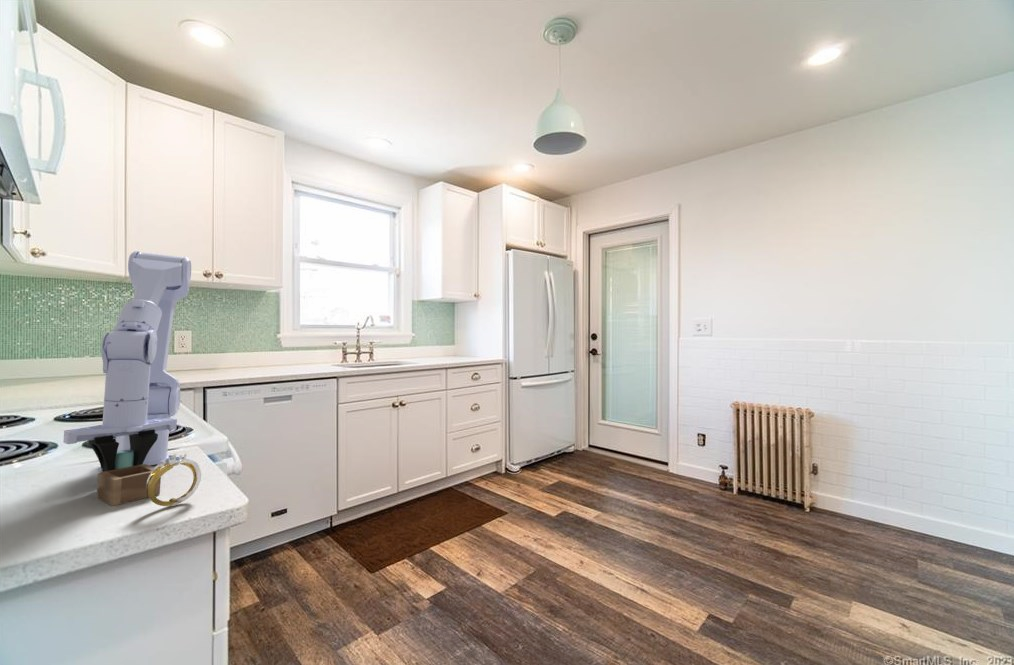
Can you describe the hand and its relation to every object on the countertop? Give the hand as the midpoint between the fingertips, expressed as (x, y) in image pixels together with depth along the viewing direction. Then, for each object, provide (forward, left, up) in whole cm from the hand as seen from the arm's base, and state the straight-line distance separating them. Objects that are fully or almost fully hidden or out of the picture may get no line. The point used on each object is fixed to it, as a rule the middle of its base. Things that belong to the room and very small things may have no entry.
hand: (121, 477), depth 71 cm
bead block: (+6, -1, -2) cm, 6 cm away
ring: (+16, +1, -2) cm, 16 cm away
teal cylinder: (0, 0, -2) cm, 2 cm away
